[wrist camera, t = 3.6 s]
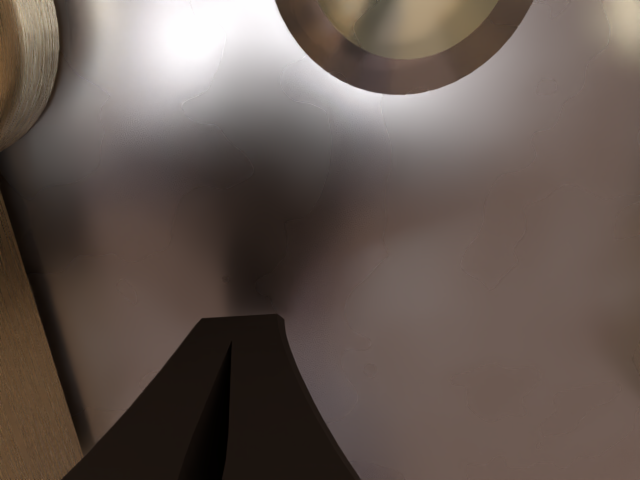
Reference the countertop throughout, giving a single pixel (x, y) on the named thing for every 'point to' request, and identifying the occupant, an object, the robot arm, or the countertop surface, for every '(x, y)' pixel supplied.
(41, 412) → the knob
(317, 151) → the grey metal plate
